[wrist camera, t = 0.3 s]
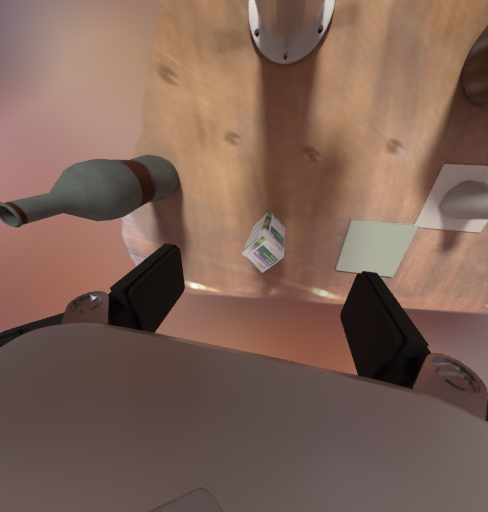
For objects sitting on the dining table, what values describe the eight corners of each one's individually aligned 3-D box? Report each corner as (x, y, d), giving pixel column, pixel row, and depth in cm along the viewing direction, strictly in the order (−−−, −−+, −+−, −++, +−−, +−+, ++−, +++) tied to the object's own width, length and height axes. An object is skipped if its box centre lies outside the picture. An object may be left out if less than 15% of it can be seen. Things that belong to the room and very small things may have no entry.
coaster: (350, 219, 43) (351, 220, 42) (416, 224, 41) (418, 225, 40) (334, 268, 49) (335, 270, 48) (391, 275, 47) (392, 277, 46)
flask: (430, 207, 38) (471, 225, 30) (468, 172, 35) (527, 181, 26) (459, 225, 39) (507, 247, 30) (499, 192, 35) (567, 207, 27)
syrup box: (286, 226, 46) (286, 256, 34) (268, 241, 49) (262, 274, 37) (269, 209, 45) (263, 234, 33) (252, 226, 48) (240, 254, 35)
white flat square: (443, 163, 35) (444, 163, 35) (523, 167, 33) (525, 167, 33) (412, 226, 41) (413, 227, 41) (479, 232, 39) (480, 232, 39)
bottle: (184, 163, 43) (37, 190, 18) (178, 201, 48) (56, 266, 23) (145, 147, 43) (-59, 152, 18) (143, 187, 48) (-19, 236, 23)
